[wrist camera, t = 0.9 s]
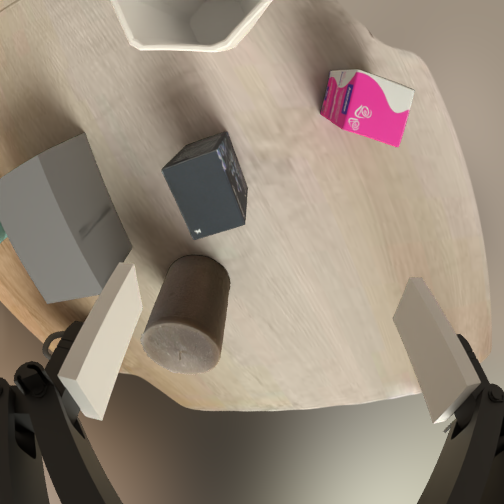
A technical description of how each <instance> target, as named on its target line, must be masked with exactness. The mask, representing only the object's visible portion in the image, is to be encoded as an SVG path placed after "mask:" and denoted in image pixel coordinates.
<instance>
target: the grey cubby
mask: <svg viewBox="0 0 504 504" xmlns="http://www.w3.org/2000/svg"><path fill="white" fill-rule="evenodd" d="M0 222H1V224H2V226H3V228H4V230H5V232H6V234H7V236H8V238H9V240H10V242H11V244H12V246H13V248H14V250H15V251H16V253H17V255H18V257H19V259H20V260H21V262H22V264H23V266H24V267H25V269H26V271H27V272H28V274H29V276H30V277H31V279H32V281H33V282H34V284H35V286H36V287H37V289H38V290H39V292H40V293H41V295H42V296H43V298H44V300H45V301H46V303H47V304H50V303H55V302H61V301H67V300H72V299H78V298H84V297H89V296H95V295H100V294H101V292H102V290H103V288H104V287H105V285H106V283H107V282H108V280H109V278H110V277H111V275H112V273H113V272H114V270H115V268H116V267H117V265H118V264H119V262H122V263H123V262H124V260H125V259H126V257H127V255H128V254H129V252H130V251H131V249H132V245H131V243H130V241H129V239H128V237H127V235H126V232H125V230H124V228H123V226H122V224H121V221H120V219H119V217H118V215H117V212H116V210H115V208H114V205H113V203H112V201H111V198H110V196H109V194H108V191H107V189H106V186H105V184H104V182H103V179H102V177H101V174H100V172H99V169H98V166H97V164H96V161H95V159H94V156H93V153H92V151H91V148H90V145H89V142H88V140H87V137H86V134H85V133H83V134H80V135H78V136H76V137H73V138H71V139H69V140H67V141H65V142H63V143H60V144H58V145H56V146H54V147H52V148H50V149H48V150H46V151H44V152H42V153H40V154H38V155H36V156H35V157H33V158H31V159H30V160H28V161H26V162H25V163H23V164H22V165H20V166H18V167H17V168H15V169H14V170H12V171H11V172H9V173H8V174H6V175H5V176H3V177H2V178H0Z"/></svg>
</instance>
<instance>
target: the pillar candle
mask: <svg viewBox="0 0 504 504" xmlns="http://www.w3.org/2000/svg"><path fill="white" fill-rule="evenodd" d="M229 290H230V278H229V276H228V273H227V271H226V270H225V269H224V267H223V266H221V265H220V264H219V263H217V262H216V261H215V260H213V259H210V258H208V257H205V256H200V255H189V256H185V257H182V258H180V259H178V260H177V261H175V262H174V263H173V264H172V265H171V267H170V268H169V270H168V273H167V275H166V278H165V280H164V282H163V285H162V287H161V290H160V292H159V295H158V297H157V300H156V302H155V305H154V307H153V310H152V312H151V315H150V317H149V320H148V323H147V325H146V328H145V331H144V333H143V334H142V335H141V336H142V337H141V342H142V343H141V344H142V346H143V349H144V351H145V352H146V353H147V356H148V357H150V358H151V359H152V360H153V361H154V362H155V363H157V364H158V365H160V366H161V367H163V368H166V369H167V370H169V371H171V372H174V373H181V374H201V373H206V372H208V371H210V370H212V369H213V368H214V367H215V366H216V365H217V363H218V362H219V359H220V355H221V349H222V342H223V335H224V327H225V321H226V312H227V305H228V295H229Z"/></svg>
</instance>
